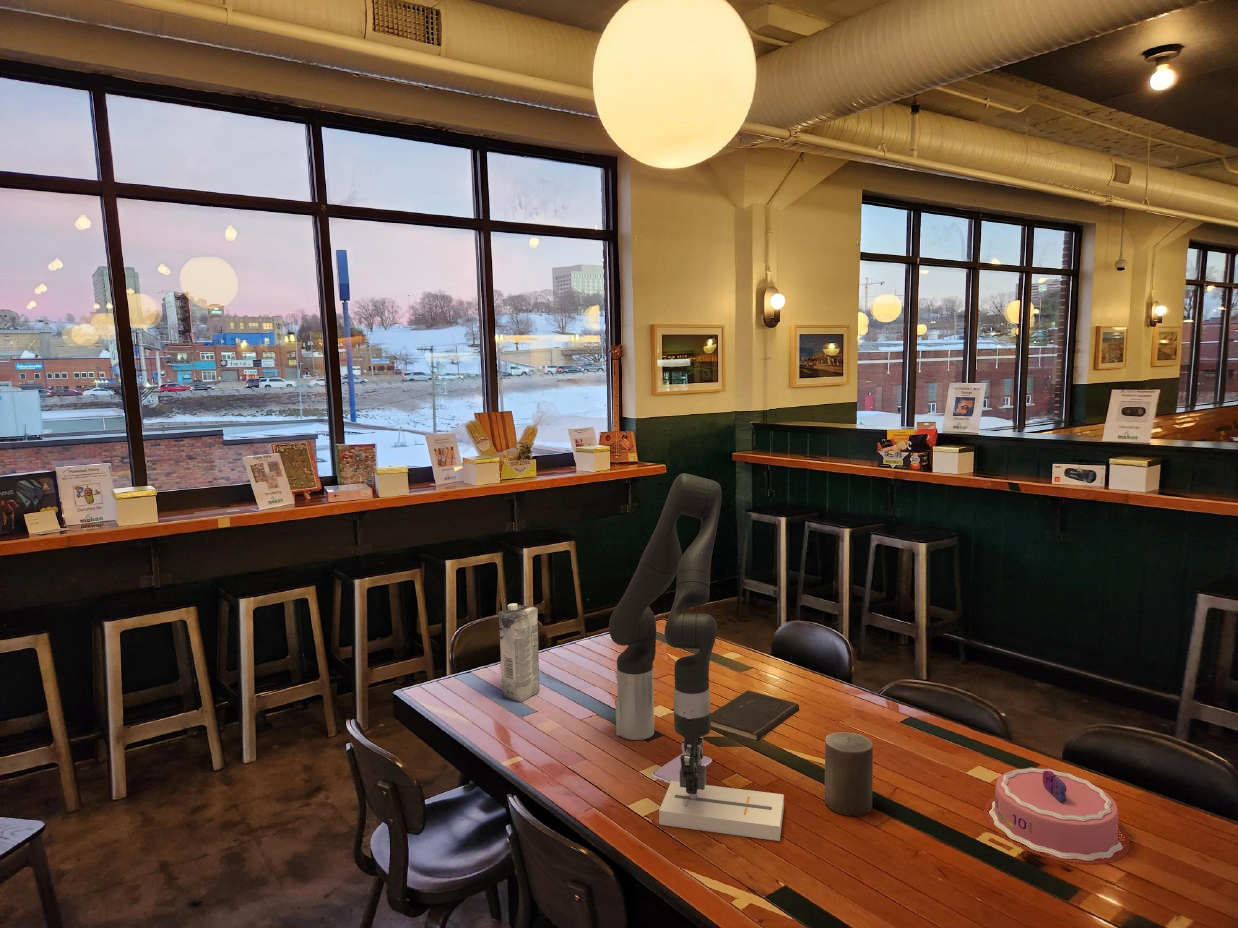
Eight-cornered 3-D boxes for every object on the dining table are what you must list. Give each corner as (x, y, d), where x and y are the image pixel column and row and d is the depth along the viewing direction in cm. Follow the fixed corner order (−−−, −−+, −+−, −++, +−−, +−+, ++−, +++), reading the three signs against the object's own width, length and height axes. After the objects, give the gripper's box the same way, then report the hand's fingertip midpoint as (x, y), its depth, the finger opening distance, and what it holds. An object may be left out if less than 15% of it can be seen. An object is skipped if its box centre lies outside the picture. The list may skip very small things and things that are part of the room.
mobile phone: (649, 772, 173) (687, 748, 185) (649, 776, 173) (687, 752, 185) (676, 783, 168) (714, 757, 180) (676, 787, 168) (714, 761, 180)
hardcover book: (703, 726, 199) (703, 717, 199) (748, 697, 217) (747, 689, 217) (757, 743, 189) (757, 734, 189) (799, 711, 207) (799, 703, 206)
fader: (680, 799, 157) (679, 770, 156) (683, 791, 160) (682, 762, 159) (704, 802, 155) (703, 772, 155) (706, 794, 158) (706, 765, 158)
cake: (962, 794, 163) (963, 746, 162) (1080, 792, 162) (1082, 744, 161) (1022, 867, 138) (1024, 811, 137) (1161, 865, 137) (1164, 809, 136)
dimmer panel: (659, 824, 154) (659, 809, 153) (671, 793, 165) (671, 780, 165) (779, 840, 147) (779, 825, 147) (783, 807, 159) (783, 793, 158)
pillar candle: (865, 821, 153) (866, 750, 152) (818, 808, 158) (818, 739, 157) (877, 799, 161) (878, 731, 160) (831, 787, 166) (832, 721, 165)
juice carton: (544, 691, 223) (541, 602, 221) (521, 704, 214) (517, 611, 212) (521, 685, 228) (517, 598, 225) (497, 698, 219) (494, 607, 217)
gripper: (680, 693, 163) (682, 769, 165) (666, 721, 150) (668, 803, 152) (715, 696, 161) (716, 773, 163) (704, 724, 148) (705, 808, 149)
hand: (693, 787), depth 157 cm, fingers closed on fader, 3 cm apart
